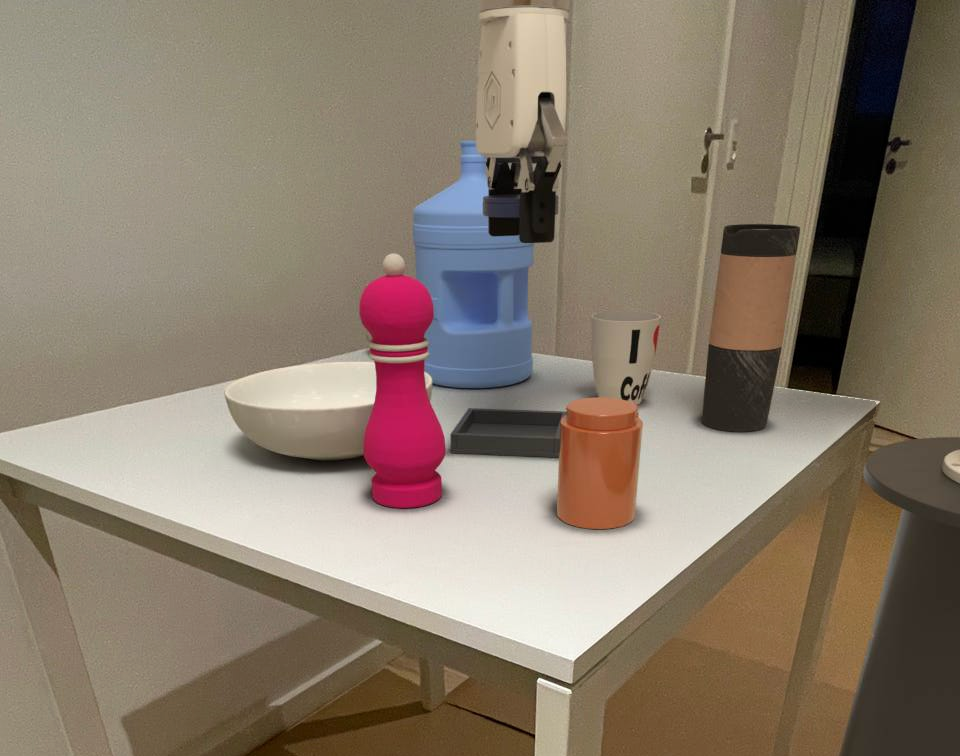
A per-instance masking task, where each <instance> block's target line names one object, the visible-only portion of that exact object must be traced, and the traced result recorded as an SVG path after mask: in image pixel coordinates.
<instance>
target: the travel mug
mask: <svg viewBox="0 0 960 756" xmlns="http://www.w3.org/2000/svg"><path fill="white" fill-rule="evenodd" d="M800 234H801V227H800V226H797V225H791V224H777V223H775V224H773V223H743V224H742V223H741V224H740V223H739V224H729V225H725V226H724V227H723V233H722V239H721V247H720V254H719V263H718V268H717V277H716V283H715V284H716V286H715V293H714V299H713V306H712V307H713V308H712V313H711V322H710V330H709V338H708V348H707V359H706V366H705V367H706V368H705V380H704V388H703V389H704V391H703V400H702V401H703V402H702V413H701V422H702V424H703V425H704V426H706V427H708V428H712V429H713V430H714V429H715V430H719V431H722V432H723V431H724V432H732V433H733V432H736V433H745V432H746V433H748V432H756V431H760V430H763V429H764V428H766V427H767V424H768V419H769V415H770V411H771V406H772V400H773V395H774V389H775V385H776V380H777V375H778V370H779V365H780V360H781V354H782V349H783V347H782V346H783V343H784V337H785V331H786V325H787V319H788V318H787V317H788V311H789V305H790V299H791V292H792V287H793V279H794V273H795V267H796V266H795V265H796V261H797V260H796V259H797V252H798V246H799V241H800Z"/></svg>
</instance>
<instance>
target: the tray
mask: <svg viewBox="0 0 960 756" xmlns="http://www.w3.org/2000/svg"><path fill="white" fill-rule="evenodd" d="M566 415H567V410H566V411H565V410H564V411H562V410H560V411H559V410H536V409H534V410H533V409H504V408H500V409H499V408H476V407H475V408H473V407H469V408H467V409H466V411H465V412H464V414H463V416H462V417H461V419H460V420H459V421H458V423H457V424H456V426H454V429H453V430H452V431H451V432H450V453H451V454H464V455H485V456H486V455H489V456H514V457H532V458H533V457H535V458H536V457H537V458H556V459H557V458H558V459H559V442H560V420H561V418H563V417H564V416H566Z"/></svg>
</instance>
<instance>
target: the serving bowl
mask: <svg viewBox="0 0 960 756" xmlns="http://www.w3.org/2000/svg"><path fill="white" fill-rule="evenodd" d="M424 375H425V384H426V390H427V394H428V397H429V400H430V402H431V400H432V392H433V381H432V378H431V376H430V375H429V374H428V373H426V372H424ZM223 391H224V392H223V394H224V395H223V396H224V398H225V399H224V400H225V403H226V405H227V408H228V411H229V413H230V416H231V417H232V418H231V419H232V420H233V421H234V423H235V424H236V426H237V428H239V430H240V431H241V432H242V433H243V435H245V436H246V437H247V438H248V439H249V440H250V441H252V442H253V443H255V444H256V445H258V446H260V447H261V448H263V449H265V450H268V451H270V452H273V453H276V454H279V455H285V456H289V457H295V458H302V459H303V458H304V459H307V460H313V461H341V460H351V459H356V458H361V457H364V454H363V441H364V435H365V430H366V427H367V424H368V421H369V418H370V415H371V412H372V409H373V405H374V402H375V395H376V370H375V362H374V361H332V362H331V361H330V362H318V363H307V364H297V365H292V366H285V367H278V368H273V369H269V370H264V371H260V372H257V373H253V374H250V375H246V376H244V377H241V378H239V379H236V380H234V381H233V382H231V383H229V385H227V386H226V387H225V388H224V390H223Z"/></svg>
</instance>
